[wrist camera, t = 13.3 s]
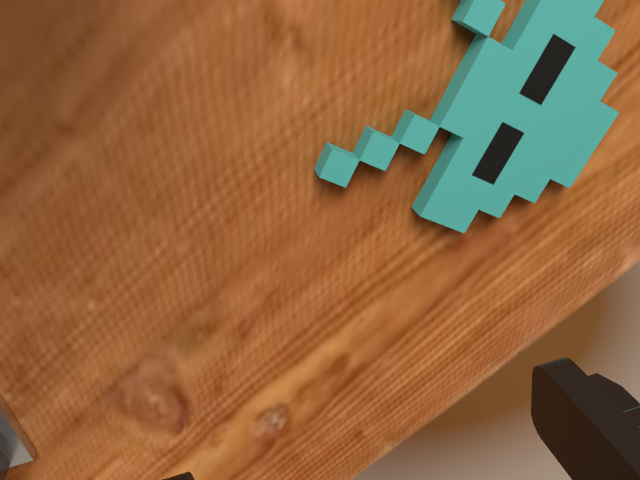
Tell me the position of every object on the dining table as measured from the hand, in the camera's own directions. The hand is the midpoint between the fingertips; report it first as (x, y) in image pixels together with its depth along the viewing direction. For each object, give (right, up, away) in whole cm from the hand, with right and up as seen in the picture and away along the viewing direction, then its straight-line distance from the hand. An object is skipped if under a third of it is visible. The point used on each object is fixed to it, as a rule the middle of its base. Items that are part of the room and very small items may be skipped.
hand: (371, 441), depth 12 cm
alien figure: (+11, +16, +28) cm, 34 cm away
